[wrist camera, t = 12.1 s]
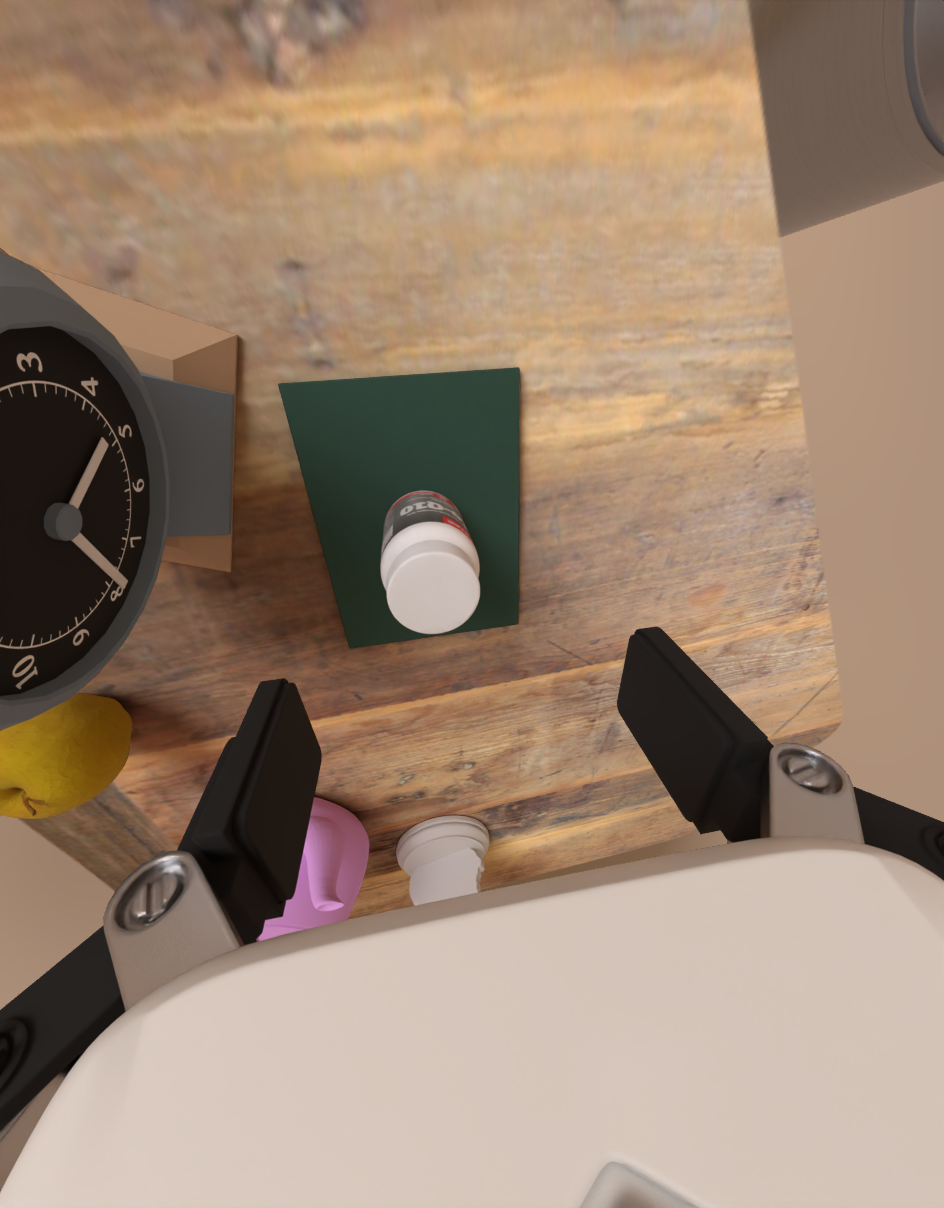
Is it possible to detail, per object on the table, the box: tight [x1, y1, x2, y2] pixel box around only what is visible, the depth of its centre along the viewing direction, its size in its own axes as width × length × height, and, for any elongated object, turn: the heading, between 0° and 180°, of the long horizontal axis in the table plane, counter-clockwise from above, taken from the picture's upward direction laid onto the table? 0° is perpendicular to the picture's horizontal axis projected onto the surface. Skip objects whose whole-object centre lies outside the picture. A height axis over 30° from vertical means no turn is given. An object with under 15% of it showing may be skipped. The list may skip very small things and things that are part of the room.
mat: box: [278, 368, 520, 649], centre depth 24 cm, size 16×12×1 cm
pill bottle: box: [380, 491, 480, 634], centre depth 20 cm, size 5×5×8 cm
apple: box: [0, 693, 132, 819], centre depth 23 cm, size 6×6×8 cm
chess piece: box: [396, 815, 489, 906], centre depth 36 cm, size 10×10×15 cm
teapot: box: [258, 797, 369, 941], centre depth 32 cm, size 13×20×11 cm
